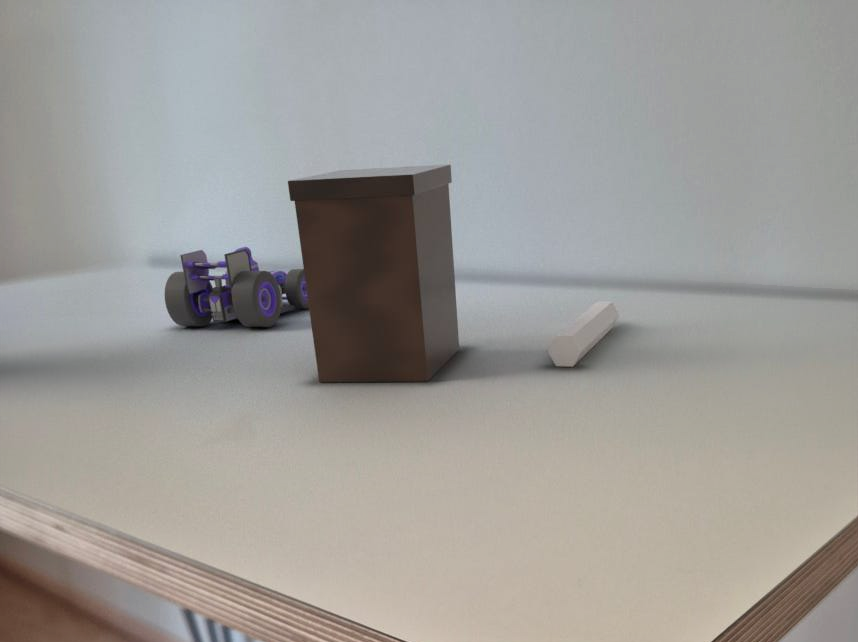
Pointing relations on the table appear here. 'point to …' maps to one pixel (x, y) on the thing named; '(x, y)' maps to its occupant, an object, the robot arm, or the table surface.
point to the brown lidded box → (378, 271)
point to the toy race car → (232, 291)
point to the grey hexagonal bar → (583, 334)
